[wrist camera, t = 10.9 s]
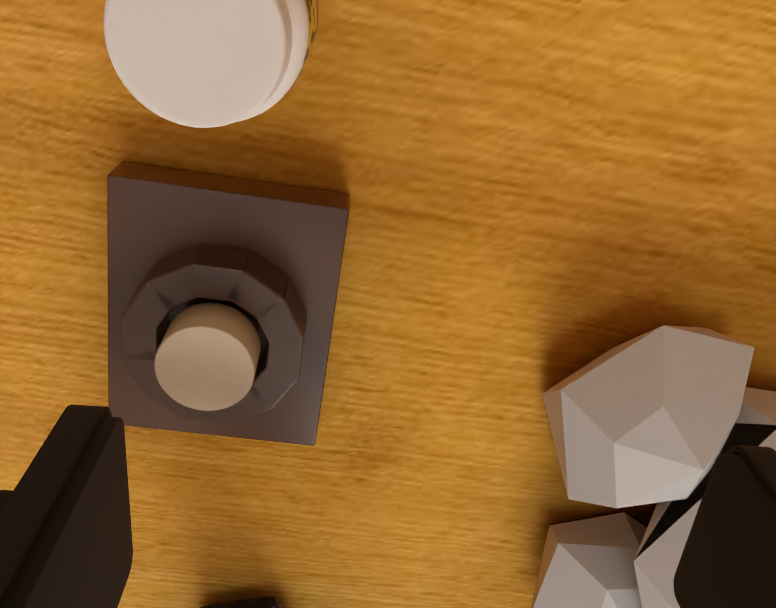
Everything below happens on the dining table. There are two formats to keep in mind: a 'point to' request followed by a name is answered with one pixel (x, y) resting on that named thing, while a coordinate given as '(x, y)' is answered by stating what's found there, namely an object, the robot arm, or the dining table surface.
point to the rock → (644, 460)
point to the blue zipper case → (249, 604)
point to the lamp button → (208, 357)
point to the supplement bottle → (209, 54)
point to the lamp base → (222, 292)
